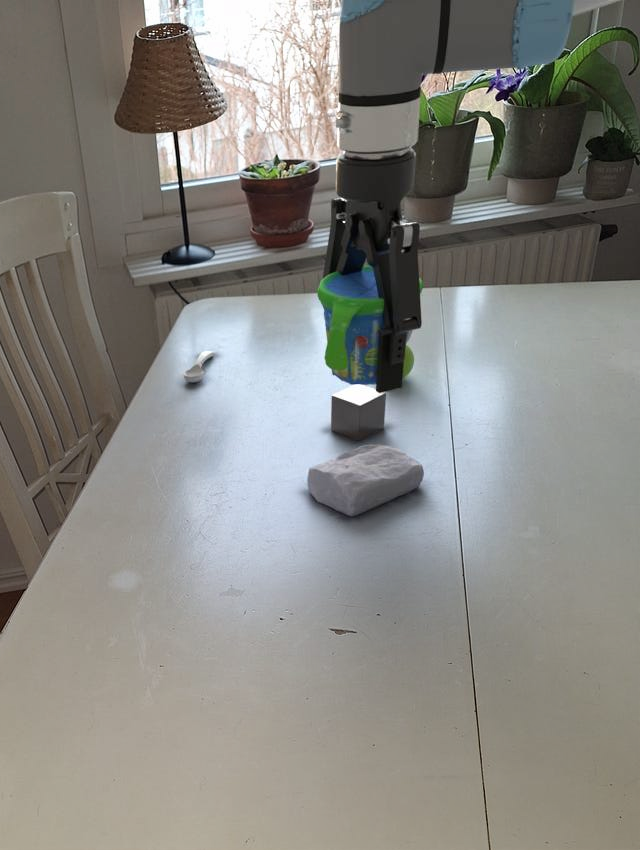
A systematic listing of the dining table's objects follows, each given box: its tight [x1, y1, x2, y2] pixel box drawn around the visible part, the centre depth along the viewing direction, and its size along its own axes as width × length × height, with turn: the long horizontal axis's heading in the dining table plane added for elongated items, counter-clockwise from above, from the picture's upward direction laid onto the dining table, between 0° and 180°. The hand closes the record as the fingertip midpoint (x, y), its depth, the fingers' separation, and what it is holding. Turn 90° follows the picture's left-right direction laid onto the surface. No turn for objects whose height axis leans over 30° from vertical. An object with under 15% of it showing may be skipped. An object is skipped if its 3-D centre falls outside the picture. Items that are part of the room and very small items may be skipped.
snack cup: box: [316, 265, 424, 386], centre depth 99 cm, size 16×10×10 cm
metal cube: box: [330, 384, 387, 442], centre depth 121 cm, size 5×5×5 cm
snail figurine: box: [403, 330, 415, 379], centre depth 130 cm, size 5×6×12 cm
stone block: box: [306, 444, 425, 517], centre depth 110 cm, size 12×5×10 cm
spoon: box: [183, 350, 215, 383], centre depth 143 cm, size 3×12×2 cm, turn 164°
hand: (365, 372), depth 102 cm, fingers closed on snack cup, 10 cm apart
